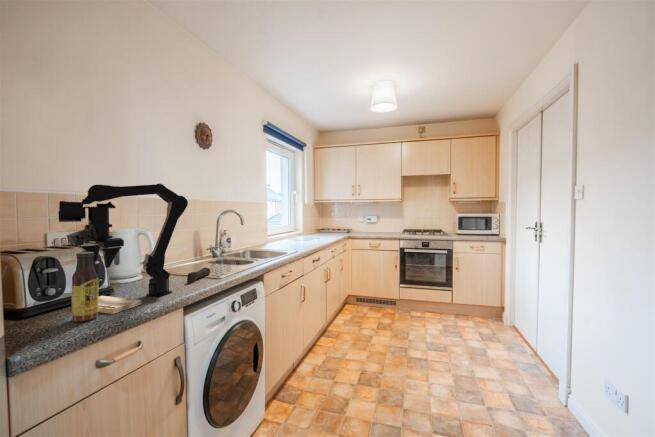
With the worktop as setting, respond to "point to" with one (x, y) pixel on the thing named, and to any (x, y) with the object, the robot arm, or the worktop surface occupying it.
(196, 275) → the hand tool
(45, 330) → the worktop surface
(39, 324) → the worktop surface
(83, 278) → the sauce bottle
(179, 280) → the worktop surface
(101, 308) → the birch board
